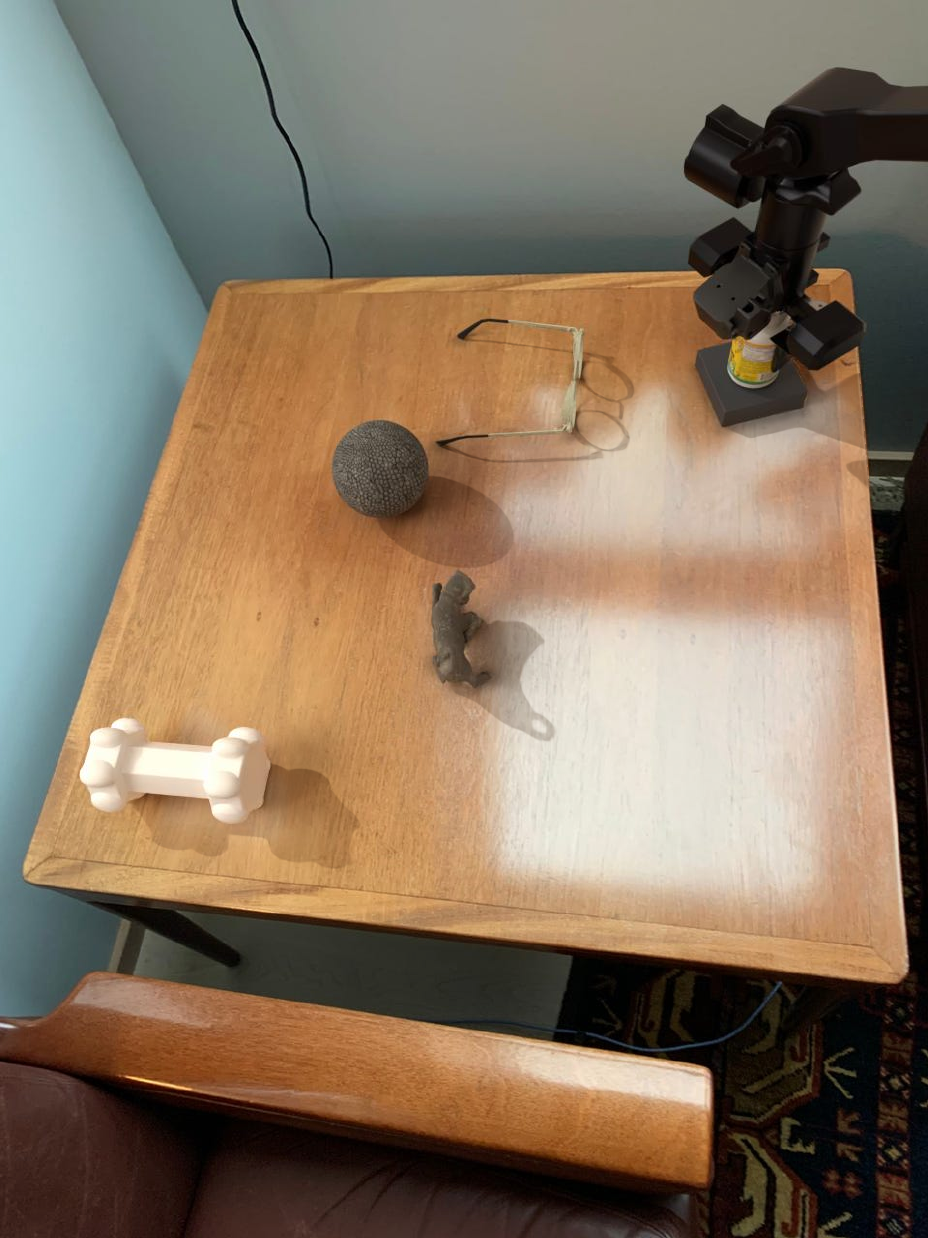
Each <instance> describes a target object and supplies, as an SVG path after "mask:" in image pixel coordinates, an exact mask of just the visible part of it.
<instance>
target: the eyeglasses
mask: <svg viewBox="0 0 928 1238" xmlns="http://www.w3.org/2000/svg"><path fill="white" fill-rule="evenodd" d="M483 323H484V324H485V323H502V324H510V325H517V326H524V327H530V328H539V329H545V330H553V331H562V332H567V333H570V332H572V337H573V342H572V353H573V355H572V356H573V364H574V370H573V371H574V372H573V373H571V375H572V376H573V380H571V382H570V385H568V388H567V390H566V392H565V396H564V400H563V405H562V409H561V416H560V418H561V420H567V422H566V424H562V425H561V427H562V428H561V429H558V428H557V427H555V426H554V428H553V429H543V430H529V431H514V432H511V431H510V432H497V433H489V434H473V435H472V434H471V435H470V434H469V435H461V436H456V437H452V438H447V439H439V440H436V441H435V444H436V445H441V446H444V445H448V444H451V443H454V442H457V441H460V440H467V439H481V438H483V439H484V438H511V437H512V438H513V437H531V436H534V437H535V436H549V435H550V436H551V435H563V434H564V433H565V431H566V433H569V434H571V433H572V432H573V429H574V428H575V423H576V414H577V403H578V382H577V379H578V380H579V379H580V378H581V375H582V367H583V356H584V355H583V354H584V336H585V334H586V333H585V331H586V330H585V328H583V327H582V328H579V330H578V329H577V327H575V326H567V325H566V326H565V325H558V324H549V323H540V322H532V321H523V320H522V321H521V320H515V319H509V320H508V319H501V318H482V319H479V320H478V321H475V322H474V323H473V324H470V326H468V327H466V328H465V329H463V330H462V331H460V332H459V333H457V335H456V337H457V339H461V340H464V339H465V338H466V337H468V336H469V334H470V333H472V332H473V331H474V330H475V329H476V328H478V327H479V326H480V325H482V324H483Z"/></svg>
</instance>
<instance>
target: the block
mask: <svg viewBox="0 0 928 1238" xmlns="http://www.w3.org/2000/svg"><path fill="white" fill-rule="evenodd" d="M731 346H732V341H729V342H724V343H720V344H716V345H712V346H709V347H705V348H700V349H697V351H696V356H695V363H694V367H695V369H696V372H697V374H698V376H699V378H700V381H701V383H702V385H703V389H704V390H705V393H706V395H707V397H708V399H709V402H710V404H711V406H712V408H713V410H714V413H715V415H716V418H717V420H718V422H719V424H720V427H721V428H724V427H728V426H732V425H735V424H741V423H744V422H749V421H753V420H757V419H761V418H766V417H769V416H773V415H778V414H781V413H785V412H790V411H792V410H793V411H794V410H797V409H802V408H804V406H805V403H806V400H807V397H808V395H809V390H808V388H807V387H806V384H805V382H804V380H803V378H802V376H801V374H800V372H799V370H798V369H797V366H796V365H795V362H794V361H793V358H791V359H790V360H789V361H788V362H787V363H786V364H785V365H784V366H783V367H782V368H781V369H780V370H779V373H778V375H777V377H776V378H775V380H774V381H773V382H771V383H770V384H769V385H767V386H764V387H761V388H747V387H743V386H740V385H738V384H737V383H736V382H734V381H733V380H732V378H731V377H730V375H729V373H728V368H727V366H728V360H729V355H730V350H731Z"/></svg>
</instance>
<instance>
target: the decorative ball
mask: <svg viewBox="0 0 928 1238" xmlns="http://www.w3.org/2000/svg"><path fill="white" fill-rule="evenodd" d="M429 468H430V467H429V460H428V456H427V453H426V450H425V448H424V445H423V444H422V443H421V441H420V439H419V438H418V437H417V435H415V434H414V433H413V432H412V431H410V429H408V428H407V427H405V426H403V425H401V424H400V423H397V422H393V421H391V420H386V419H374V420H369V421H366V422H362V423H360V424H358V425H356V426H355V427H353V428H351V429H350V430H348V431H347V432H346V433H345V434H344V435H343V437H342V438H341V439H340V440H339V442H338V443H337V445H336V447H335V450H334V451H333V456H332V462H331V475H332V481H333V484H334V487H335V490H336V492H337V493H338V495H339V497H340V498H341V500H343V502H344V503H345V504H346V505H347V506H348V507H349V508H351V509H352V510H354V511H355V512H357V513H358V514H361V515H363V516H366V517H368V518H373V519H388V518H393V517H396V516H398V515H401V514H403V513H405V512H407V511H408V510H409V509H411V508H413V506H414V505H415V504H416V503H417V502H418V501H419V499H420V498H421V497H422V495H423V494H424V492H425V490H426V487H427V484H428V480H429V473H430V472H429V470H430V469H429Z"/></svg>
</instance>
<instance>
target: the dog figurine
mask: <svg viewBox="0 0 928 1238" xmlns="http://www.w3.org/2000/svg"><path fill="white" fill-rule="evenodd" d="M453 573H454V574H452V575H450V576H449V579H448V581H447V582H446V583H445V585H444V586H443V584H442V583H441V582H437V583H433V584H432V591H431V594H432V600H431V601H432V602H431V616H430V624H431V627H432V629H433V633H432V640H433V641H432V642H433V647H434V649H435V650H436V654H435V655H434V656H432V657H431V663H432V665H434V670H435V672H436V674H437V677H438V679H439V681H440V683H441V684H444V683H446V682H458V683H461V682H465V683H467V684H468V685H470V686H471V687H472V688H473V689H477V688H478V687H479V686H480V685H483V684H484V683H486V682H487V681H488V680H490V679H491V677H492V675H491V673H490V672H489V671H481V672H480V674H477V675H476V673H474V671H473V667H472V666H471V663H470V662H469V660H468V658H467V657H466V655H465V649H466V645H467V644H468V643H469V642H470V641H472V639H473V636H474V635H475V633H476V630H477V629H479V628H480V627H481V625H482V623H483V619H482V617H481V616H478V614H477V612H475V611H472V610H469V612H462V609H461V606H464V605H467V604H468V603H469V601H470V595H471V594H472V593H473V590H475V589H476V584H475V583H474V581H473V580H472V579H471V577H469V576H468V575H467V574H466V573H465V572H463V571H462V570H459V569H456V570H455V571H454V572H453Z"/></svg>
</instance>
